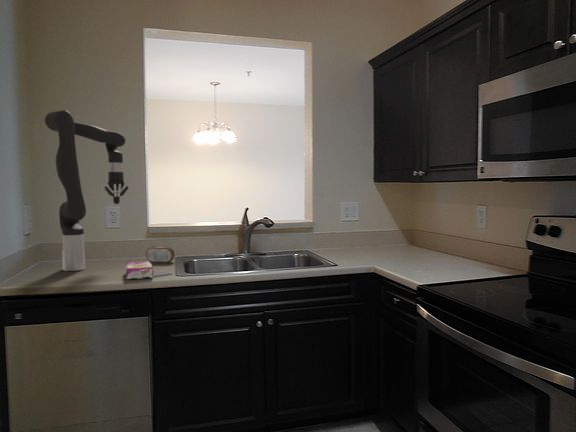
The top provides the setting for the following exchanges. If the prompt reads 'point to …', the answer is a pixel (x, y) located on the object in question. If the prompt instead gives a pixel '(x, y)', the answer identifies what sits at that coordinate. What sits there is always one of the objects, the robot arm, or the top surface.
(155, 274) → the mat
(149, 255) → the tin
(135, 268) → the candy bar box
